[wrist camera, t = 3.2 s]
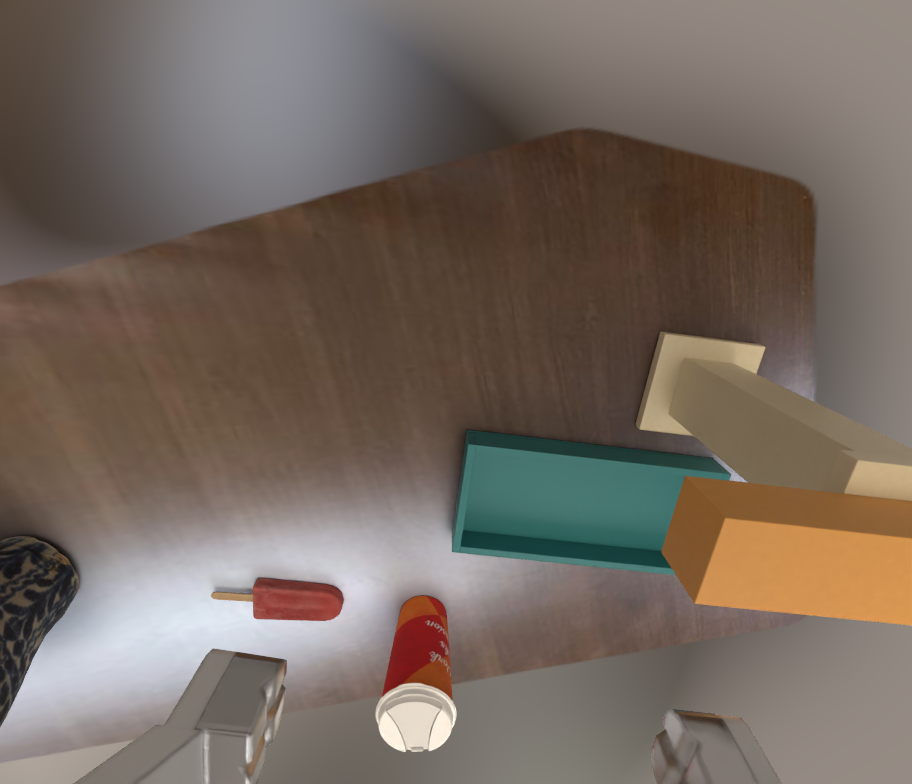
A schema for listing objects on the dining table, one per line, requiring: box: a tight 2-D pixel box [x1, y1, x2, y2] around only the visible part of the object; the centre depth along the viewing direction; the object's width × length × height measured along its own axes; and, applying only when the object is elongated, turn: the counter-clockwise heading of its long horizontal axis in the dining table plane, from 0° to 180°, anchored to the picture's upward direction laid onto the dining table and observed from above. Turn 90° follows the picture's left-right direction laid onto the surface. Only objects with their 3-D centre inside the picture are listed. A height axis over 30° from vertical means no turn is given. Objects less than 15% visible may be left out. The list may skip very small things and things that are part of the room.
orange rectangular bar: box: [661, 476, 912, 625], centre depth 23 cm, size 20×4×4 cm, turn 83°
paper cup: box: [376, 596, 456, 752], centre depth 51 cm, size 8×8×14 cm
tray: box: [452, 430, 731, 575], centre depth 51 cm, size 27×13×4 cm, turn 83°
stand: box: [635, 332, 912, 501], centre depth 37 cm, size 12×10×26 cm
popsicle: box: [211, 578, 343, 621], centre depth 56 cm, size 4×2×15 cm
